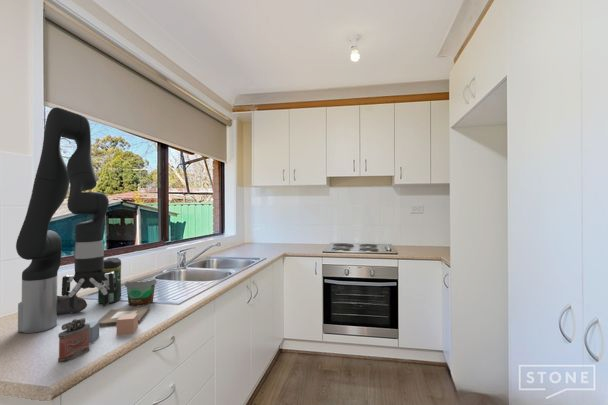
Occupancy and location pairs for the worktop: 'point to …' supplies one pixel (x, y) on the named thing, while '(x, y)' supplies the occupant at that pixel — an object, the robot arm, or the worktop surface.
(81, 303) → the perforated stone tool
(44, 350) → the worktop surface
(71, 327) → the lighter
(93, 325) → the slate block
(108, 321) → the walnut board
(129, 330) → the terracotta block
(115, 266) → the coffee jar
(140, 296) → the food container
